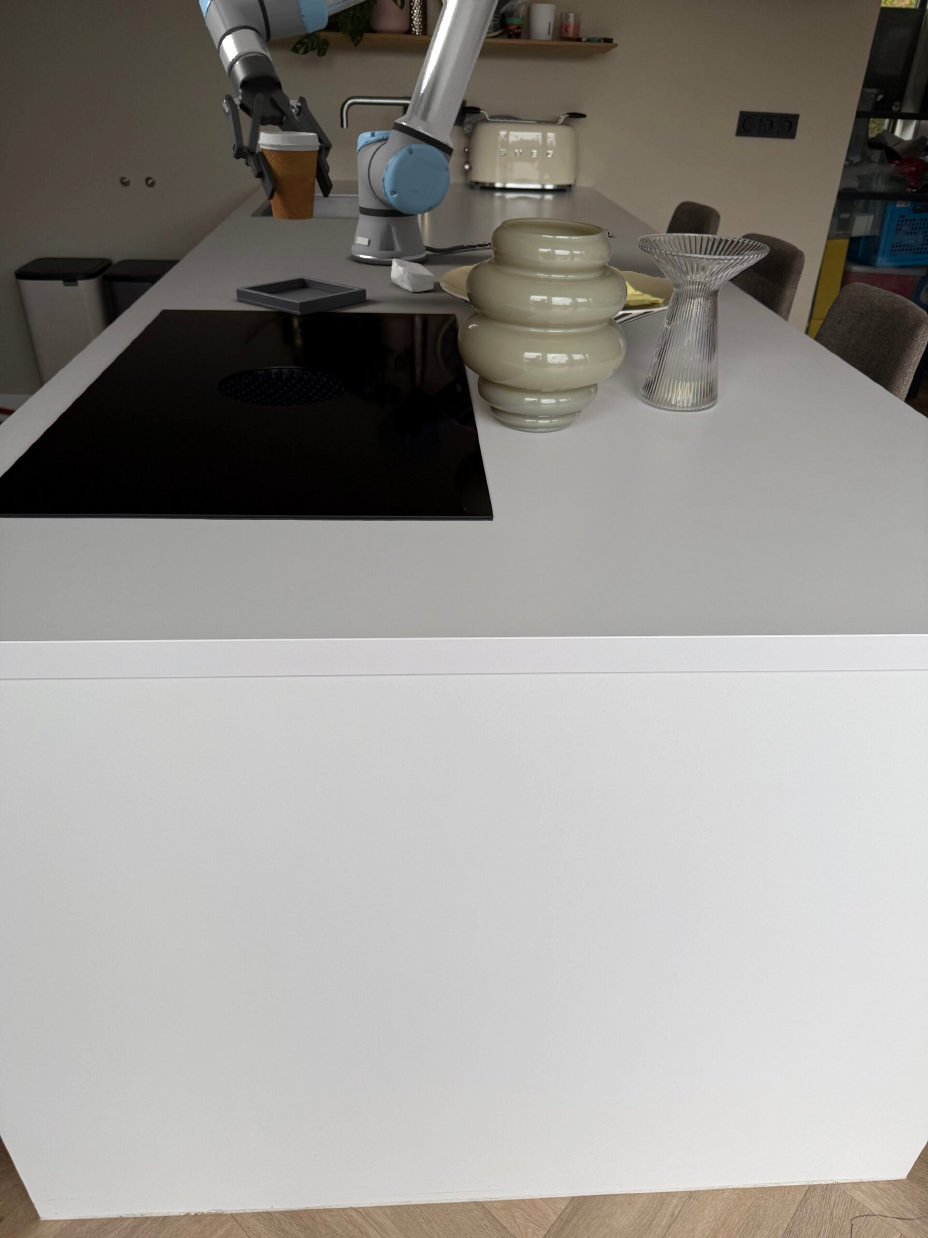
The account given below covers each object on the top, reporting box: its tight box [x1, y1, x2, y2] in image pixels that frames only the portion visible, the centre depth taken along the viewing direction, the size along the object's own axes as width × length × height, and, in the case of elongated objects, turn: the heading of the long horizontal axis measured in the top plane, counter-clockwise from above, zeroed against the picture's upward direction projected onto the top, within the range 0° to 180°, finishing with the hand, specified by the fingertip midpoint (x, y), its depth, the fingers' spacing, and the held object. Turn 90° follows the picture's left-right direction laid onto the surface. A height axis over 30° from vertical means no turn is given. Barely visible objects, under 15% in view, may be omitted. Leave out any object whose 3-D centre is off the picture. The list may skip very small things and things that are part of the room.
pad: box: [235, 275, 367, 317], centre depth 151 cm, size 15×15×2 cm
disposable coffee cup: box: [257, 130, 320, 221], centre depth 144 cm, size 10×10×12 cm
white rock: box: [390, 259, 435, 293], centre depth 163 cm, size 10×6×6 cm, turn 13°
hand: (300, 192), depth 143 cm, fingers closed on disposable coffee cup, 9 cm apart
